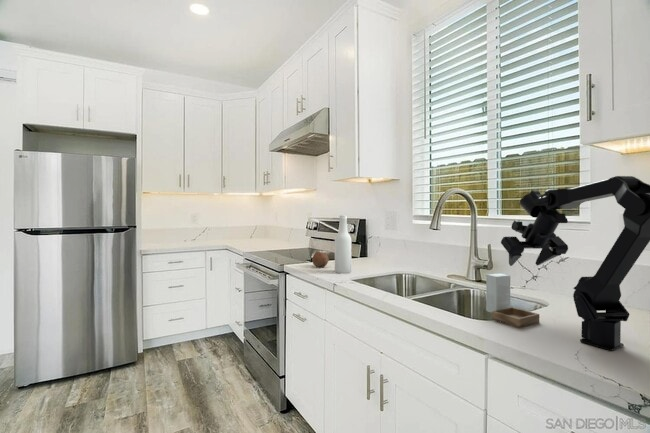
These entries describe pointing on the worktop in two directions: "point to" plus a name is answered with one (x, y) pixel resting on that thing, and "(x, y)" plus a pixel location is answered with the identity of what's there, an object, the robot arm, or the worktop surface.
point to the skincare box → (497, 292)
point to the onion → (320, 259)
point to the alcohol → (343, 247)
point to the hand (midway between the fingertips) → (523, 264)
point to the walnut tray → (515, 317)
